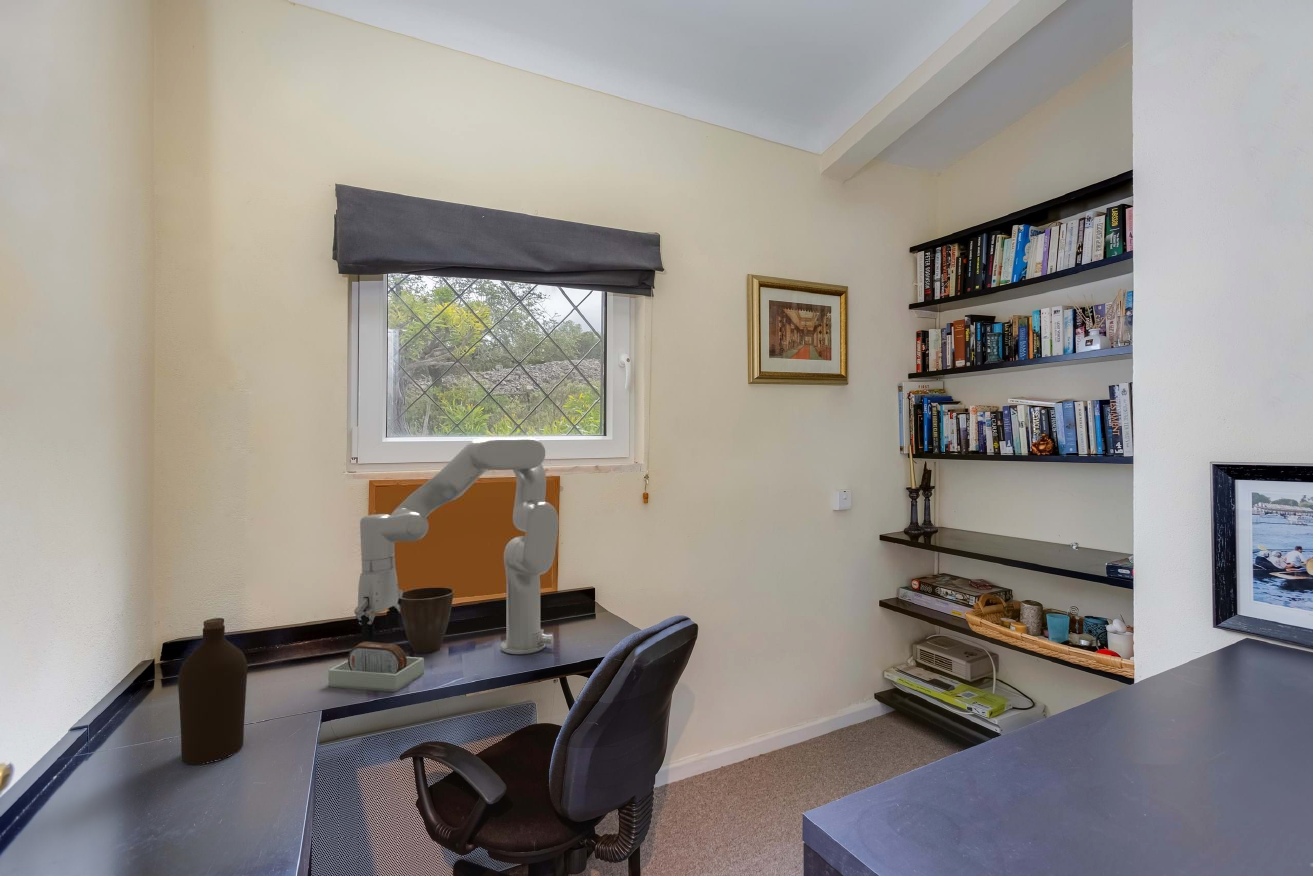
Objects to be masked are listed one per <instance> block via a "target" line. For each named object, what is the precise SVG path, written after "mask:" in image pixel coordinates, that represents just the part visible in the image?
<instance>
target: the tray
mask: <svg viewBox="0 0 1313 876" xmlns="http://www.w3.org/2000/svg"><path fill="white" fill-rule="evenodd" d="M406 659H407V665H406V668H404V669H403V670H401V671H399V672H398V673H396V674H389V673H375V672H362V671H351V670H350V668H349V664H348V659H347V660H345V661H343V662H341V663H339V664H337V665H335V666H333V667H332V668H329V669H328V673H327V674H328V675H327V676H328V684H327V685H328V687H329V688H339V689H340V688H341V689H350V690H351V689H354V690H363V691H364V690H365V691H366V690H367V691H374V692H375V691H376V692H390V693H397V692H398V691H400V690H402V689H403V688H404V687H406V686H408V685H409V684H411V683H412V682H414V681H415V680H416V679H418V678H420V677H422V676H423V675H424V674H425V657H418V656H417V657H416V656H414V657H413V656H406Z"/></svg>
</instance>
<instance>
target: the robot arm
mask: <svg viewBox="0 0 1313 876" xmlns="http://www.w3.org/2000/svg"><path fill="white" fill-rule="evenodd" d="M545 458H546V449H545V447H544V444H542V442H541V441H540V440H538V439H536V438H533V437H527V438H526V437H519V438H517V437H516V438H476V439H473V440H472V441H470V442H469V443H467V445H465V446H464V447H463V448H462V449H461V450H460V451H459V452H458V453H457V454H456V455H455V456H454V457H453V458H452V459H451V460H450V461H449V462H448V463H447V464H446V465H445V466H444V467H443V468H442V469H441V470H440V471H438V472H437V474H435V475H434V476H433V477H431V478H430V479H428V481H426V482H425V483H424V484H422V485H421V486H419V487H418V488H417V489H416V490H415V491H413V492H412V493H411V494H409V496H408V497H407V498H405V499H404V500H403V501H402V502H401V503H400V504H399V505H398V506H397V507H396V508H395V509H394V510H393V511H392V512H391V514H388V513H377V514H376V513H375V514H368V515H365V516H363V517H362V518H361V519H360V521H359V534H360V554H361V557H360V558H361V559H360V560H361V573H360V575H359V579H358V580H359V581H358V587H357V589H358V590H357V606H356V607H355V608H354V611H353V612H354V615H355V617H356V620H357V622H358V624H359V625H360V627H361V629H360V631H361V633H360V634H361V640H362V641H374V640H376V630H375V628H376V627H375V626H376V625H375V622H374V619H375V617H376V615H377V614H379V613H382V612H384V611H386V610H387V611H386V626H387V627H388V628H398V627H400V625H401V624H400V604H401V602H402V599H401V598H402V595H403V592H404V590H403V589H400V588H399V583H398V574H397V571H396V570H397V569H396V559H395V558H396V557H395V543H398V542H399V543H400V542H401V543H402V542H404V543H405V542H408V543H409V542H410V543H411V542H416V541H419V540H421V539H423V538H424V537H425V536H426V534H427V533H428V531H429V521H428V519H427V517H428V516H429V515H430V514H432V513H433V511H435V510H436V509H438V508H439V507H441V506H443V505H444V504H447V503H450V502H453V501H455V500H456V499H458V498H460V497H462V496H463V495H464V493H465V492H466V491H467V490H468V489H470V488H471V486H472V485H473V484H474V483H475V482H476V481H478V479H479V478H480V477H481V476H483V474H484V473H486V471H513V472H514V476H515V479H516V485H515V486H516V488H515V498H514V504H513V505H514V506H513V511H512V512H513V513H512V523H513V526H514V527H515V528H516V529H517V530H518V531H521V532H524V533H525V535H524V536H523V535H521V536H516V537H514V538H512V539H510V541H508V542H507V544H506V546H505V548H504V551H503V564H504V569H505V570H504V571H505V578H506V579H505V581H506V600H505V601H506V603H505V604H506V605H505V606H506V609H505V610H506V619H505V620H506V640H504V641H503V642H502V643H501V644H500V650H501V651H502V652H504V653H506V654H509V655H510V654H511V655H525V654H526V655H527V654H533V653H537V652H539V651H541V650H544V648H546V646H547V645H553V644H554V641H555V639H554V637H553V634H545V633H544V628H543V629H541V578H540V576H541V575H544V574H546V573H547V572H548V571H549V570H550V568H551V567H552V565H553V563H554V560H555V555H556V548H557V547H556V546H557V541H558V533H559V532H558V531H559V516H558V512H557V510H556V508H555V507H554V506H553V505H552V504H551V503H549V502H547V501H546V494H547V493H546V492H547V476H546V471H545V468H544V466H543V462H544V460H545ZM368 616H369V617H368Z"/></svg>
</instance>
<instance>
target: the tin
mask: <svg viewBox="0 0 1313 876" xmlns="http://www.w3.org/2000/svg"><path fill="white" fill-rule="evenodd" d="M406 657H407V656H406V653H405V651H404V650H403V649H402V647H400V646H399V645H396V644H395V643H386V642H374V641H362V642H359V643H357V645H356V646H354V647H353V648H352V649H351V650H350V651H349V653H348V655H347V660H348V664H349V668H350V670H351V671H362V672H375V673H389V674H396V673H398V672H399V671H401V670H403V669H404V668H406V665H407V659H406Z"/></svg>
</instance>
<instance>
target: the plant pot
mask: <svg viewBox="0 0 1313 876" xmlns="http://www.w3.org/2000/svg"><path fill="white" fill-rule="evenodd" d="M454 591H455V590H454V589H453V588H450V587H444V586H441V587H440V586H434V587H433V586H432V587H431V586H430V587H421V588H419V587H418V588H414V589H409V590H405V591H403V595H402V598H401V599H402V602H401V604H400V610H399V614H400V616H401V621H402V624H403V628H404V631H405V634H406V635H405V636H406V638H407V640H408V642H409V645H410V648H411V650H412V652H414V653H416V654H427V653H432V652H435V651H438V650H439V649H441V646H442V643H443V641H444V637H445V635H446V632H447V628H448V625H449V620H450V616H451V613H452V607H453V600H454Z"/></svg>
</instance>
